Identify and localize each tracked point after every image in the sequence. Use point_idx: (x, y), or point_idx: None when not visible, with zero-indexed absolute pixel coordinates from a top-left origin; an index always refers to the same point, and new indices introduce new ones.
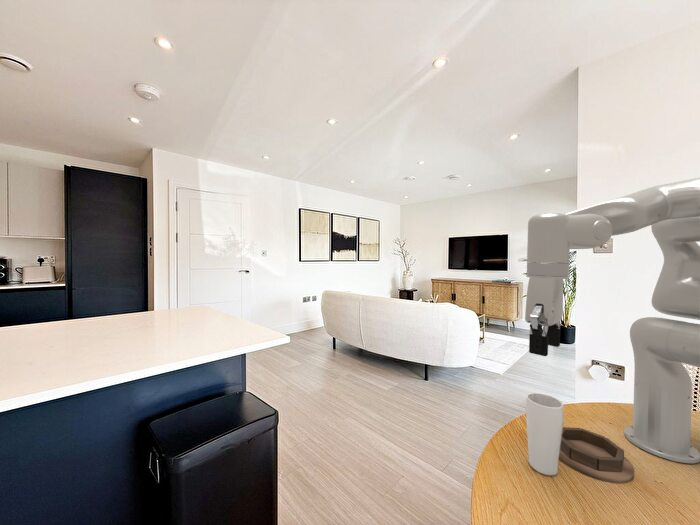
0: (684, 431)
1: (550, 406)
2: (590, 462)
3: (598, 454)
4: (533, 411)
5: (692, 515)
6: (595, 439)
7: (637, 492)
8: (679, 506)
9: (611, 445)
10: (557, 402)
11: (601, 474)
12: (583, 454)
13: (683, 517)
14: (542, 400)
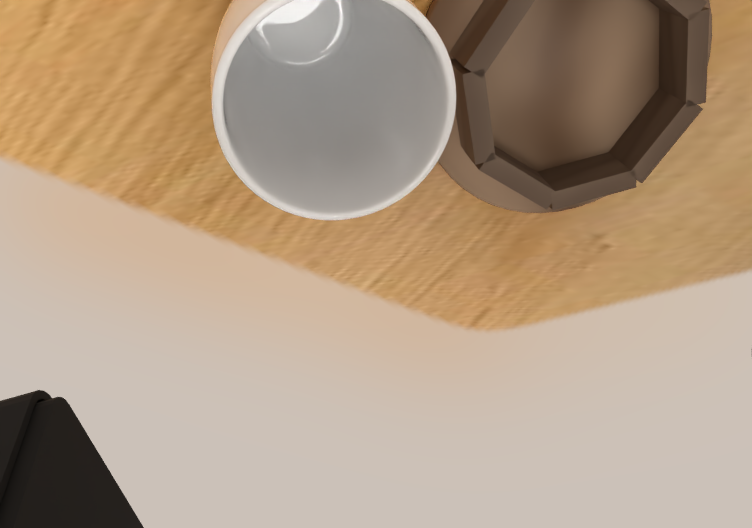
0: None
1: (429, 76)
2: (464, 134)
3: (590, 100)
4: (210, 80)
5: (498, 329)
6: (674, 70)
7: (477, 235)
8: (512, 305)
9: (650, 141)
10: (429, 144)
11: (451, 163)
12: (468, 117)
13: (466, 323)
14: (422, 34)
